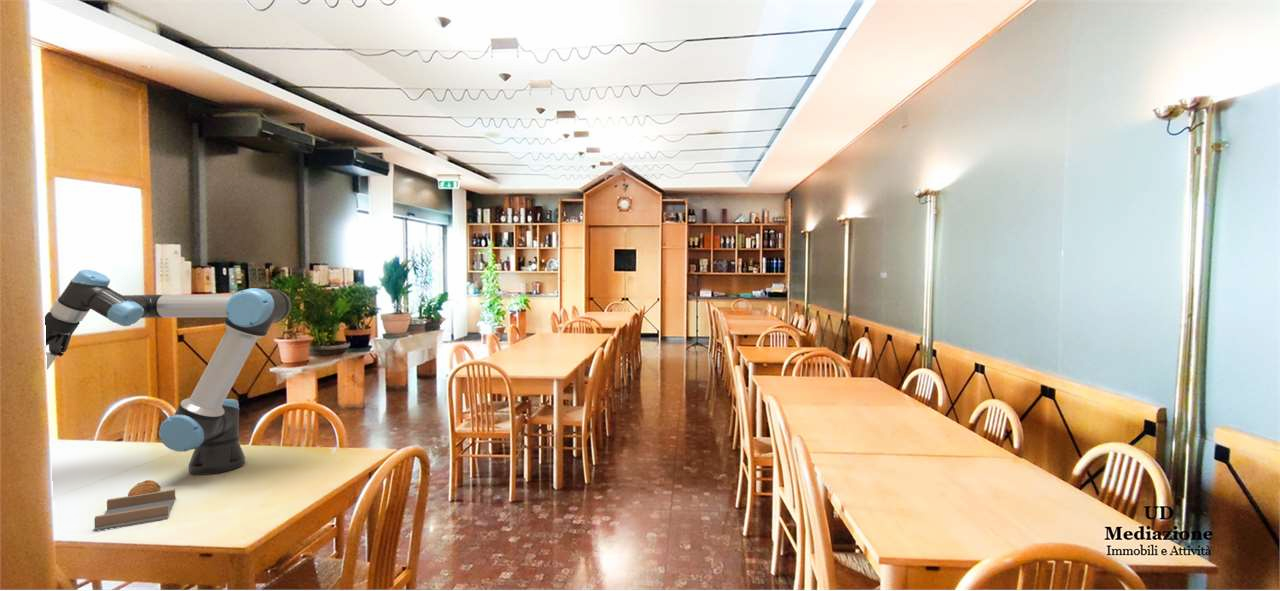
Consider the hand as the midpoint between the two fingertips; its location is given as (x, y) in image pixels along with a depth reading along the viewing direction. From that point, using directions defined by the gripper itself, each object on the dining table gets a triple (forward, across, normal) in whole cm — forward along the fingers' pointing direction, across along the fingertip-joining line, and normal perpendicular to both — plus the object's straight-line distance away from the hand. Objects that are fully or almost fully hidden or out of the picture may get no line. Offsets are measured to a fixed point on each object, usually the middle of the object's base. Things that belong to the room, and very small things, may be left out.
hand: (20, 376), depth 164 cm
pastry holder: (+3, +32, +54) cm, 63 cm away
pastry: (+7, +18, +50) cm, 54 cm away
